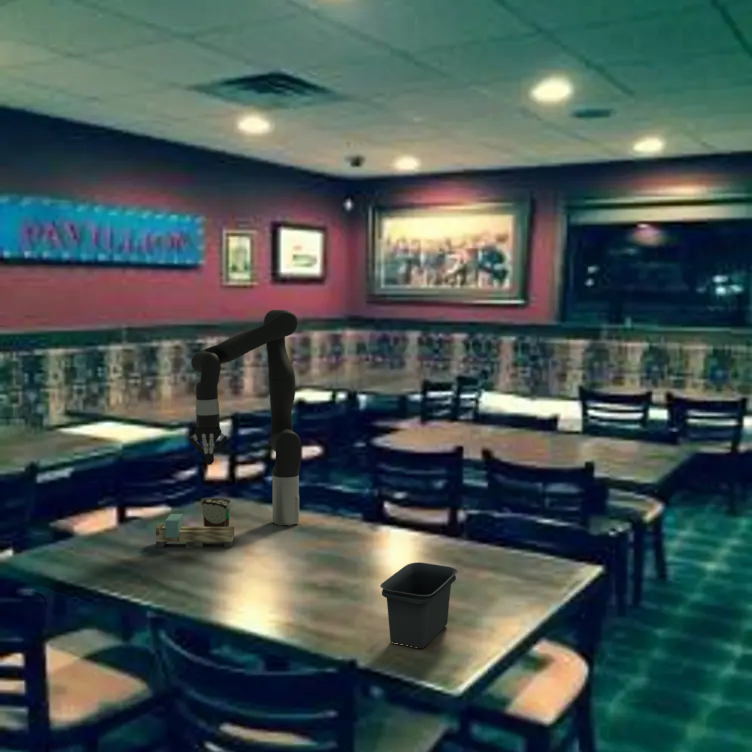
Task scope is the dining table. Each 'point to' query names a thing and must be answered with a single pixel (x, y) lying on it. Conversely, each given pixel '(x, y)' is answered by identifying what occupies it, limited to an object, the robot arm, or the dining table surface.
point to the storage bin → (418, 602)
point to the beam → (197, 536)
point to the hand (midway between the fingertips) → (209, 464)
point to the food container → (216, 512)
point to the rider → (173, 525)
